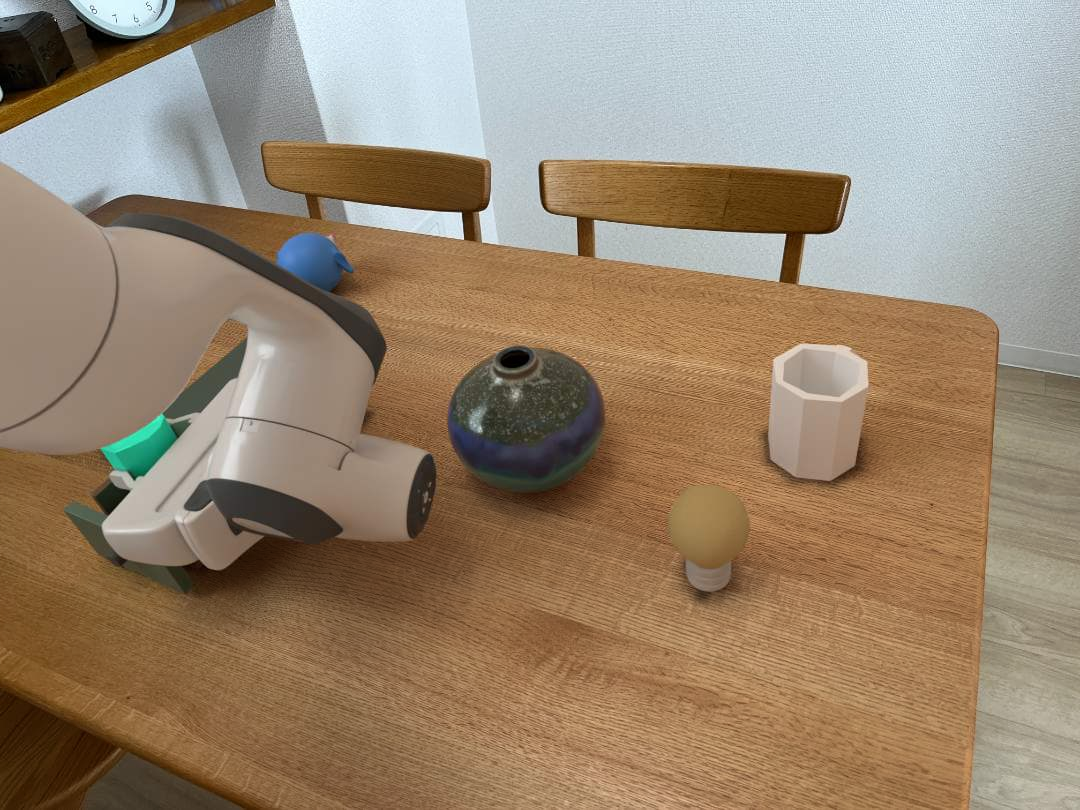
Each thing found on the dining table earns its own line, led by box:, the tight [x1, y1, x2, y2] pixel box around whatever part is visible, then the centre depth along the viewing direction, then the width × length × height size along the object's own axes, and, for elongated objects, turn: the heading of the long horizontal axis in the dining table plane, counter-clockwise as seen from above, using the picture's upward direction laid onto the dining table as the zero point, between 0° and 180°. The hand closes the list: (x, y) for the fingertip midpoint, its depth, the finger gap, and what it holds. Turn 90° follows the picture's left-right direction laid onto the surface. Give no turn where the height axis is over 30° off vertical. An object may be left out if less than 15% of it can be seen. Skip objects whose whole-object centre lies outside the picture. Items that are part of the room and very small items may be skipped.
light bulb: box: [667, 484, 751, 593], centre depth 66 cm, size 6×6×10 cm
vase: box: [446, 344, 607, 494], centre depth 78 cm, size 15×15×13 cm
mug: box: [767, 343, 869, 482], centre depth 76 cm, size 12×9×10 cm
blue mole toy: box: [275, 232, 355, 292], centre depth 112 cm, size 12×12×8 cm
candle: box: [99, 414, 178, 492], centre depth 75 cm, size 6×6×12 cm
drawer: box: [62, 477, 204, 595], centre depth 79 cm, size 16×12×7 cm
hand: (138, 451), depth 74 cm, fingers closed on candle, 5 cm apart
